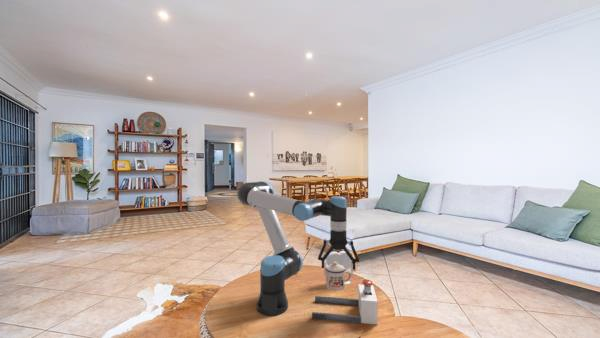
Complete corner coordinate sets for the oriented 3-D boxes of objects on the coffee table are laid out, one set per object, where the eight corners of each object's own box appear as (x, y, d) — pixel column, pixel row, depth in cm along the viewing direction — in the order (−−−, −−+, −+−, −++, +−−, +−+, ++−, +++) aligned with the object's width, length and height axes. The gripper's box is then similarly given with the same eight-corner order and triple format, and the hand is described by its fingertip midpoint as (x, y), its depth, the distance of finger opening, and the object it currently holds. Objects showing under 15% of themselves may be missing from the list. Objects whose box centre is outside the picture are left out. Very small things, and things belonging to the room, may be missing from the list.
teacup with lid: (327, 291, 121) (327, 265, 121) (324, 282, 131) (324, 259, 130) (353, 290, 122) (353, 265, 122) (348, 282, 131) (348, 258, 131)
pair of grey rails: (311, 319, 120) (311, 313, 120) (315, 300, 136) (315, 296, 136) (360, 323, 117) (361, 317, 117) (358, 304, 133) (358, 299, 133)
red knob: (362, 298, 123) (363, 283, 123) (362, 294, 127) (362, 279, 127) (372, 299, 122) (372, 284, 122) (371, 294, 126) (371, 279, 126)
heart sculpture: (349, 279, 162) (350, 250, 162) (353, 283, 157) (353, 252, 157) (325, 281, 159) (325, 251, 159) (327, 285, 154) (327, 254, 154)
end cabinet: (360, 323, 117) (361, 300, 117) (358, 304, 133) (358, 284, 133) (377, 324, 116) (377, 301, 116) (372, 305, 132) (373, 285, 132)
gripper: (312, 230, 124) (312, 277, 124) (365, 232, 121) (365, 280, 121) (313, 226, 132) (313, 270, 132) (363, 228, 128) (363, 273, 128)
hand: (338, 275), depth 126 cm, fingers closed on teacup with lid, 12 cm apart
